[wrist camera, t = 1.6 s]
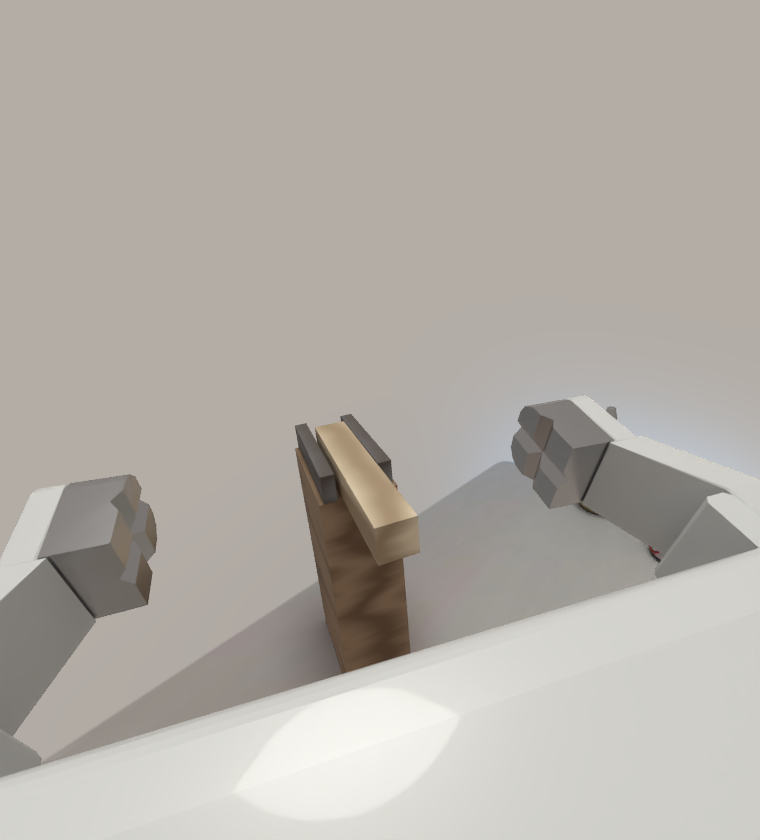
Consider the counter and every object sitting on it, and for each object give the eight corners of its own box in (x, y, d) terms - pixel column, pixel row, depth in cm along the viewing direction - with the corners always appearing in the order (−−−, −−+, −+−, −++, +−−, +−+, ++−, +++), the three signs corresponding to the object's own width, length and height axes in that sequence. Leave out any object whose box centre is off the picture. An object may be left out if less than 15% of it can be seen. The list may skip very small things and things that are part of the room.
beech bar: (378, 565, 28) (374, 528, 27) (318, 454, 44) (314, 427, 43) (419, 552, 29) (417, 515, 28) (347, 447, 45) (343, 421, 44)
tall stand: (351, 704, 45) (315, 478, 35) (325, 619, 56) (291, 426, 45) (412, 679, 47) (395, 458, 37) (376, 602, 58) (354, 413, 47)
